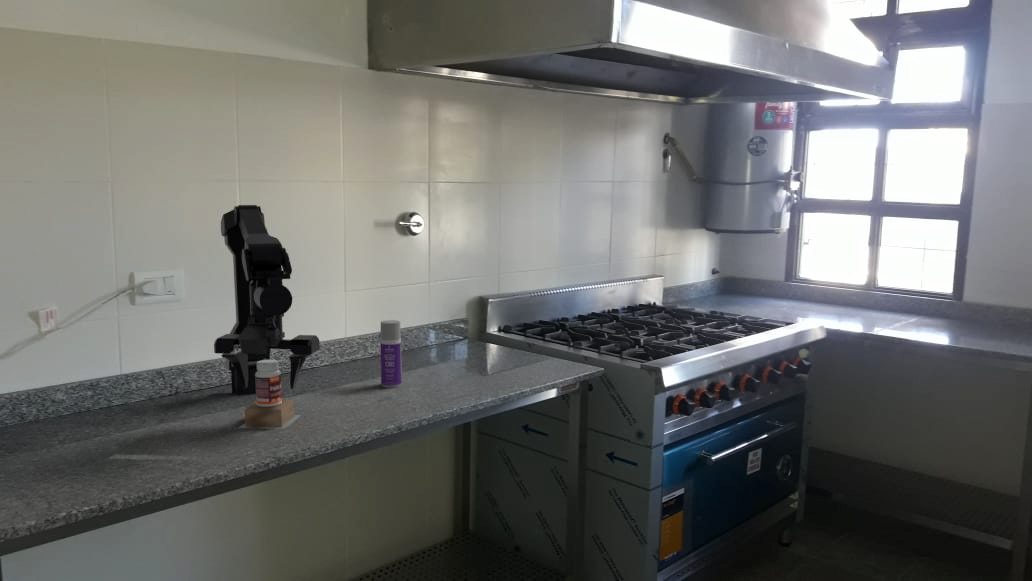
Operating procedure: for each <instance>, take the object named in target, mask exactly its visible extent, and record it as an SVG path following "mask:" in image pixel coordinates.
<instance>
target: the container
mask: <svg viewBox="0 0 1032 581" xmlns="http://www.w3.org/2000/svg"><path fill="white" fill-rule="evenodd" d="M401 334H402V333H401V320H395V319H387V320H381V321H380V380H381V381H380V384H381V387H383V388H387V389H389V388H390V389H391V388H393V387H394V388H400V387H401V386H402V337H401V336H402V335H401Z"/></svg>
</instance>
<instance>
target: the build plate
mask: <svg viewBox="0 0 1032 581" xmlns="http://www.w3.org/2000/svg"><path fill="white" fill-rule="evenodd" d="M300 417H301V414H294V417H293V418H292V419H291V420H289V421H288V422H287V423H286V424H285V425H284V426H283V427H251V426H246V424H245V422H244V423H243V424H242V425H240V426H239V427H238V429H259V430H260V429H261V430H266V429H267V430H270V429H271V430H286V429H288V427H290V425H292V424H293V423H294V422H295V421H296V420H297V419H299V418H300Z"/></svg>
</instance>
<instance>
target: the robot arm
mask: <svg viewBox="0 0 1032 581" xmlns="http://www.w3.org/2000/svg"><path fill="white" fill-rule="evenodd" d="M265 223H266V222H265V214H264V213H263V212H262V209H261V206H260V205H257V204H238V205H235V206H234V207H233V209H231V210H230V211H227V212H226V213H224V214H222V217H221V220H220V233H221V234H220V235H221V237H223V238H224V244H225V246H226V247H227V249H228V250H229V252H230V254H232V260H233V261H232V262H233V281H234V283H233V284H234V300H235V302H234V303H235V324H234V325H233V327H232V328H231V331H230V332H229V333H226V334H223V335H222V336H219V337H218V338H216V339H215V341H214V344H213V350H214V352H213V353H215V354H221V357H222V358H225V359H224V360H225V367H226V369H227V370H228V371H230V379H231V380H230V381H231V384H230V385H231V394H235V395H241V396H243V395H256V384H255V373H256V372H257V371H258V370H257V362H258V361H261V360H271V350H290V352H291V353H292V354H291V355H290V356H288V358H289V361H290V372H289V373H290V374H289V375H290V376H289V377H290V378H289V384H290V389H291V390H293V389H295V387H296V385H297V382H298V379H299V375H300V373H301V371H302V368H303V365H304V364H305V361H306V359H307V358H308V357H309V356H312V355H313V354H315V353H316V352H317V351H318V350H320V349H321V347H320V339H319V337H318V336H317V335H316V334H313V335H312V334H299V335H296V336H295V337H293V338H292V339H285V335H286V334H285V331H283V317H284V316H285V313H287V312H288V311H289V310H290V309H291V307H292V305H293V295H292V292H291V291H290V289H289V288H288V287H286V286H285V285H283V280H291V275H292V273H293V272H292V271H293V269H292V265H291V261H290V256H289V253H288V252H287V249H286V248H285V247H283V244H282V243H281V241H280V240H279V239H278V238H277V237H275V236H272V235H270V234H269V232H268V228H267V227H266V224H265Z"/></svg>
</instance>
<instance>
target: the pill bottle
mask: <svg viewBox="0 0 1032 581" xmlns="http://www.w3.org/2000/svg"><path fill="white" fill-rule="evenodd" d="M257 370H258V371H257V372H256V373H255V384H256V394H255V401H256V404H257V405H258V406H261V407H273V406H277V405H280V404H281V403H282V400H283V397H282V396H283V395H282V373H281V371H280V370H279V360H276V359H270V360H261V361H258V362H257Z"/></svg>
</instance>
